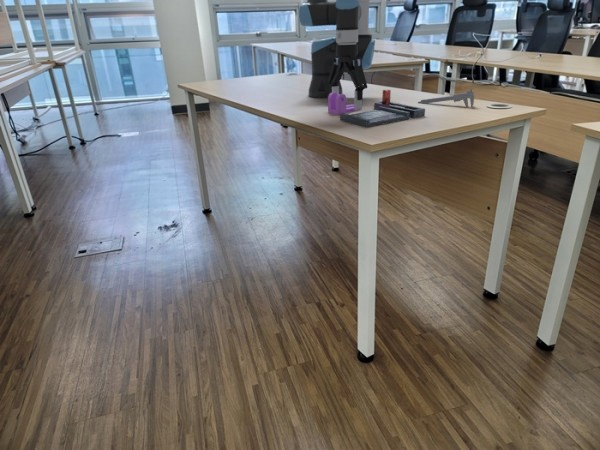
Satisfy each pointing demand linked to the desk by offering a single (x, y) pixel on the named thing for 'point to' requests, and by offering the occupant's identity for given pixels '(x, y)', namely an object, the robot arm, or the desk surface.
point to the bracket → (339, 104)
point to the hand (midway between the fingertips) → (346, 106)
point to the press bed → (375, 117)
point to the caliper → (453, 98)
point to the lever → (387, 97)
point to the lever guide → (413, 110)
